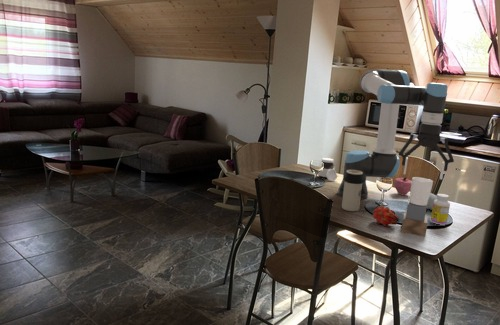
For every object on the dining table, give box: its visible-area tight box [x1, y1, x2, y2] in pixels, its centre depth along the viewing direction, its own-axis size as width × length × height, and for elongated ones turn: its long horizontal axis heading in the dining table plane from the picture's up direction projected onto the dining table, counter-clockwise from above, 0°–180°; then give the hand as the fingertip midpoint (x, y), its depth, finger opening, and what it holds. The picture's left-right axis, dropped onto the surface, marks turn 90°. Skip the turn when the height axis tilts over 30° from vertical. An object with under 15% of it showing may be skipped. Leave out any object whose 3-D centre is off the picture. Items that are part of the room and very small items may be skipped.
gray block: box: [405, 200, 427, 222], centre depth 170 cm, size 7×7×6 cm
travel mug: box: [341, 170, 363, 212], centre depth 193 cm, size 8×8×18 cm
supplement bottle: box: [429, 193, 451, 226], centre depth 182 cm, size 7×7×13 cm
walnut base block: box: [401, 211, 429, 237], centre depth 171 cm, size 9×9×6 cm
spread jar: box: [317, 157, 338, 182], centre depth 247 cm, size 12×11×12 cm
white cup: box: [408, 176, 434, 206], centre depth 168 cm, size 8×8×10 cm
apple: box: [393, 177, 412, 196], centre depth 224 cm, size 10×9×10 cm
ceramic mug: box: [426, 192, 437, 211], centre depth 201 cm, size 11×8×8 cm
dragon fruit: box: [371, 205, 401, 228], centre depth 176 cm, size 8×8×12 cm
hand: (422, 176), depth 167 cm, fingers open, 13 cm apart
